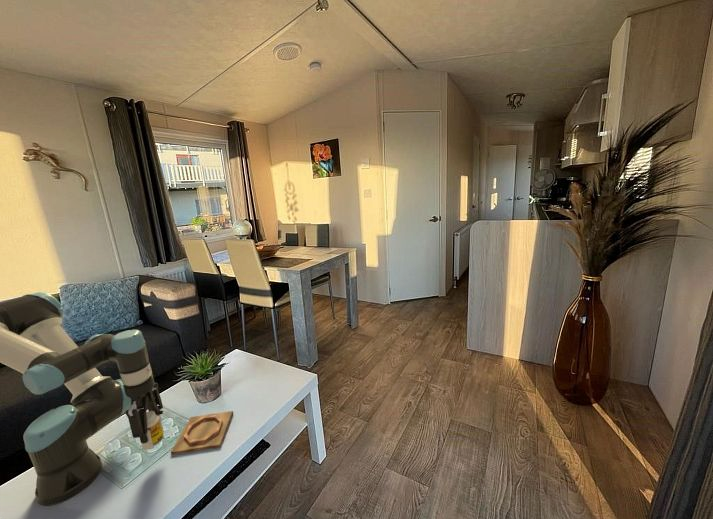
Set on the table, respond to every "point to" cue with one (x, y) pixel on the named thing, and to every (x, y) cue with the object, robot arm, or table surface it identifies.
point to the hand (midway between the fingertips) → (154, 440)
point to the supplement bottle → (154, 427)
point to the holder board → (203, 433)
